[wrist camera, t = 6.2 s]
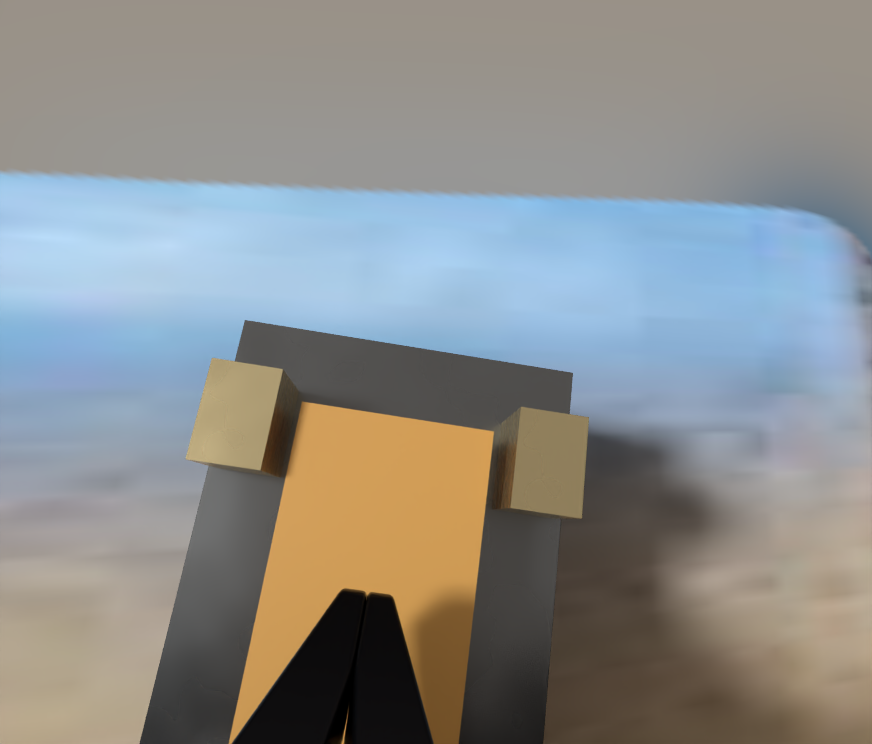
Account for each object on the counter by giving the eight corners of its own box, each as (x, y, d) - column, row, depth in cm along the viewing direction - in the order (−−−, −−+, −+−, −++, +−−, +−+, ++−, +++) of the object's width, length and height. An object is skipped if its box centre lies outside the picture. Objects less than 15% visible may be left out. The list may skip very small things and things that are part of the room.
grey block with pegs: (471, 857, 16) (548, 1178, 8) (191, 823, 16) (-3, 1122, 8) (518, 416, 19) (602, 349, 12) (289, 380, 19) (220, 286, 11)
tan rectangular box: (428, 892, 11) (434, 950, 9) (218, 867, 10) (190, 921, 9) (482, 441, 13) (494, 431, 12) (312, 415, 13) (302, 401, 11)
